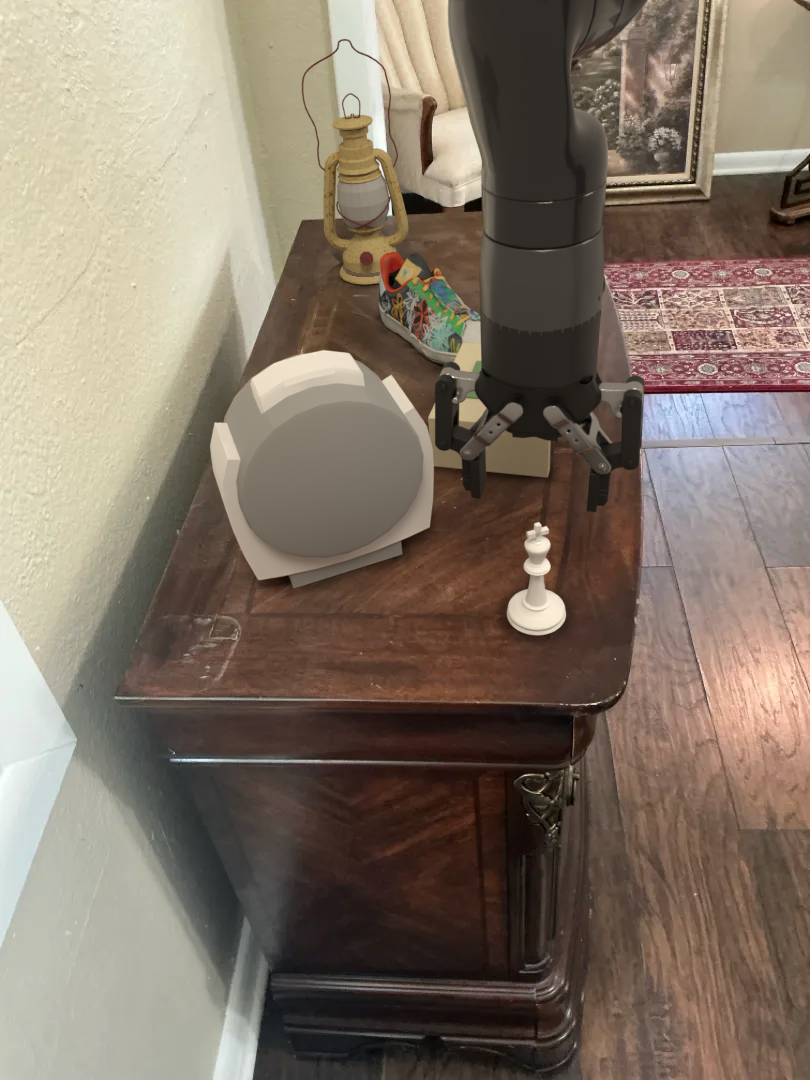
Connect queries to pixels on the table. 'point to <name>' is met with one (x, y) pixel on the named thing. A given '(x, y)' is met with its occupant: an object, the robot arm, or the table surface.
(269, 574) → the alarm clock
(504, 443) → the box with green top
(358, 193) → the lantern
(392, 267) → the sneaker
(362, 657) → the table surface
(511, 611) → the chess piece
